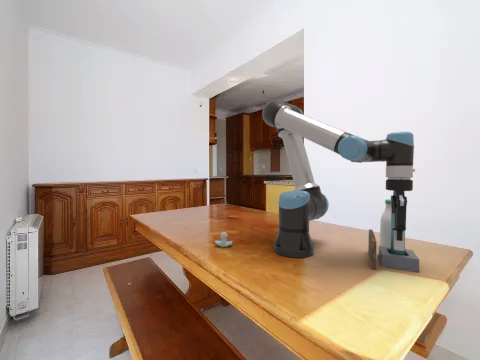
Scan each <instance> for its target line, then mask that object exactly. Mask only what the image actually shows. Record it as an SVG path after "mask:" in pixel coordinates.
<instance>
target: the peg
mask: <svg viewBox="0 0 480 360" xmlns="http://www.w3.org/2000/svg"><path fill="white" fill-rule="evenodd" d="M392 228H395V213H391V247H390V254H397V255H404V256H405V249H406V247H405V246H406V230H404V251H401V250H394V230H392Z"/></svg>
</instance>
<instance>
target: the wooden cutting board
mask: <svg viewBox="0 0 480 360" xmlns="http://www.w3.org/2000/svg"><path fill="white" fill-rule="evenodd" d="M377 243H378V242H377V239H376V236H375V233H374V230H373V229H368V247H367V248H368V249H367V250H368V256H369V263H370V268H371V269H372V270H373V271H376V270H377Z"/></svg>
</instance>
